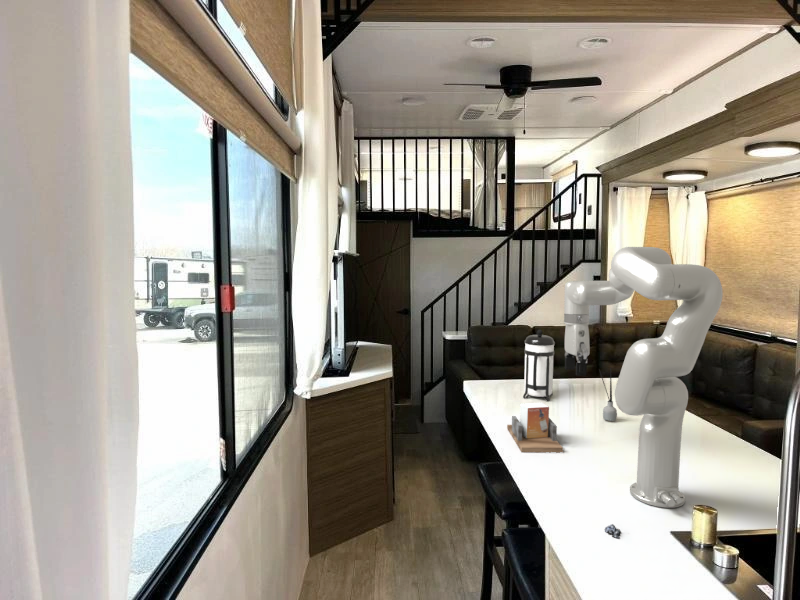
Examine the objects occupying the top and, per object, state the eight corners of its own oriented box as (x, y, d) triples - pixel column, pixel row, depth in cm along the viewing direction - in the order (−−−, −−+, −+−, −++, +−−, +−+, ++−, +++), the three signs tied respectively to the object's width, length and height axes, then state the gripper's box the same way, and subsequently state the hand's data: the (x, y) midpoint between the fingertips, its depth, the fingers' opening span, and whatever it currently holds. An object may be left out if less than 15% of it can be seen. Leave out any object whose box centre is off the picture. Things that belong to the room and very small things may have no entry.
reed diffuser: (616, 425, 185) (619, 371, 183) (596, 422, 188) (598, 369, 186) (616, 417, 194) (618, 366, 193) (597, 415, 197) (599, 364, 195)
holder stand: (562, 452, 158) (563, 432, 158) (521, 452, 158) (521, 432, 158) (543, 429, 180) (544, 411, 180) (507, 428, 180) (507, 410, 180)
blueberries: (624, 527, 116) (624, 519, 116) (638, 544, 108) (638, 535, 108) (594, 527, 116) (594, 518, 116) (606, 543, 108) (606, 534, 108)
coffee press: (512, 394, 227) (513, 328, 224) (542, 391, 232) (544, 326, 229) (533, 404, 210) (535, 333, 208) (566, 401, 215) (568, 332, 213)
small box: (526, 439, 166) (527, 407, 165) (518, 433, 171) (519, 403, 170) (548, 437, 167) (549, 406, 166) (540, 431, 173) (541, 401, 172)
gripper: (599, 322, 153) (598, 377, 154) (577, 317, 170) (576, 367, 171) (574, 322, 153) (573, 378, 154) (555, 317, 170) (554, 367, 171)
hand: (575, 372), depth 162 cm, fingers open, 9 cm apart
